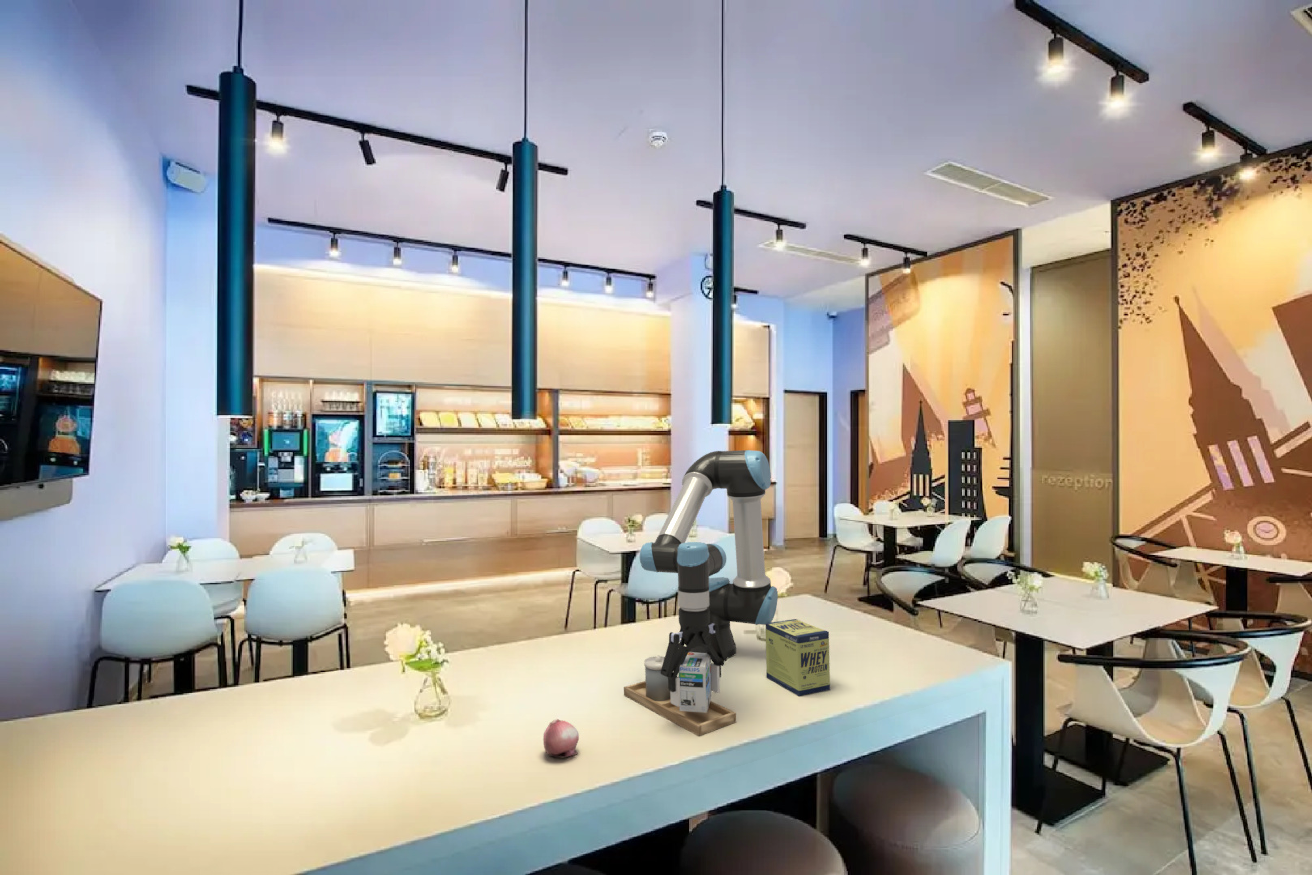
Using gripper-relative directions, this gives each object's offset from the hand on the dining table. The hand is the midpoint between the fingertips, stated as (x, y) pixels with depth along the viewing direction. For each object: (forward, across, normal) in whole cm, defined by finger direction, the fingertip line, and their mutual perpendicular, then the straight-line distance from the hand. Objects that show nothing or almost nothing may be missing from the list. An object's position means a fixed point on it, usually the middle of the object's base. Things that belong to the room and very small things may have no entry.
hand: (695, 697), depth 149 cm
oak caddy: (+5, 0, -7) cm, 9 cm away
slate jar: (+5, 0, -15) cm, 16 cm away
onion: (+5, +34, -4) cm, 35 cm away
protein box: (+5, -36, +1) cm, 36 cm away
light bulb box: (+2, 0, 0) cm, 2 cm away
